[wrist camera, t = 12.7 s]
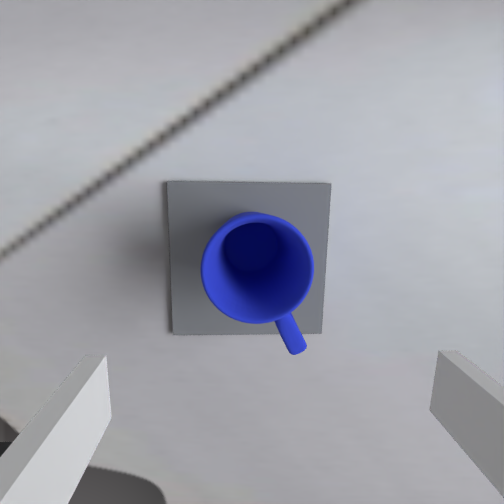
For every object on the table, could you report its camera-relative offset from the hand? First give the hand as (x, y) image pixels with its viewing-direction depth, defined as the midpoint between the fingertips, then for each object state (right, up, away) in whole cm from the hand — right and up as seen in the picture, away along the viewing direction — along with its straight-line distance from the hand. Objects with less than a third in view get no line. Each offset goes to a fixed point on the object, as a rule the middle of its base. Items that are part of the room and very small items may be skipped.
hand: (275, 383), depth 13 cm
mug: (0, +4, +21) cm, 21 cm away
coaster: (-1, +4, +21) cm, 22 cm away
